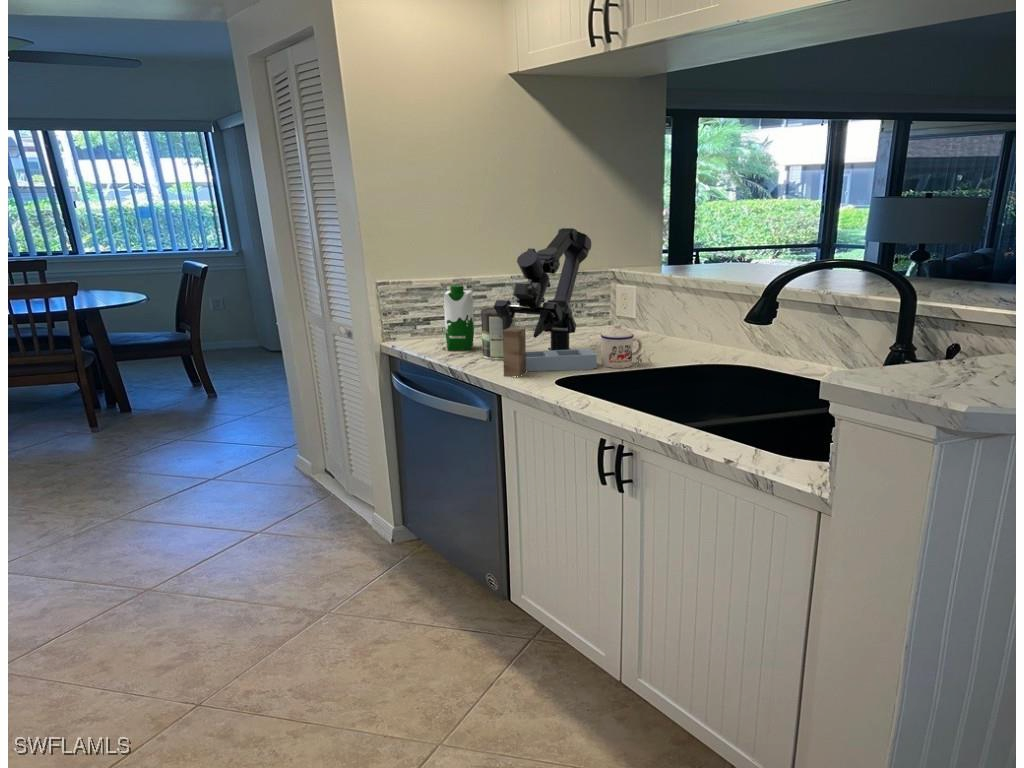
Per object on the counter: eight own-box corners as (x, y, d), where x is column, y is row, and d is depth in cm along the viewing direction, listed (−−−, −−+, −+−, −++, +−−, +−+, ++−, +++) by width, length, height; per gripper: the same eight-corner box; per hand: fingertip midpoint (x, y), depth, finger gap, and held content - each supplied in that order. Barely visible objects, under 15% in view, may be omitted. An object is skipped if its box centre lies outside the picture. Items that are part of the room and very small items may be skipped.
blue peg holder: (517, 372, 210) (517, 358, 209) (514, 365, 217) (514, 352, 216) (596, 368, 212) (596, 354, 211) (590, 362, 220) (590, 348, 219)
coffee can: (475, 358, 228) (473, 311, 225) (494, 351, 237) (492, 306, 233) (504, 361, 223) (503, 313, 220) (522, 354, 232) (521, 308, 228)
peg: (511, 372, 210) (510, 327, 207) (526, 373, 208) (525, 328, 205) (503, 376, 206) (502, 330, 203) (519, 377, 204) (518, 331, 201)
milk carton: (444, 351, 239) (441, 287, 234) (449, 345, 247) (446, 283, 242) (472, 351, 238) (469, 287, 233) (476, 345, 246) (474, 283, 241)
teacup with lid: (607, 370, 210) (608, 328, 207) (595, 362, 219) (596, 322, 216) (648, 366, 213) (649, 325, 210) (634, 359, 222) (635, 319, 219)
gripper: (495, 270, 212) (478, 316, 205) (558, 272, 204) (542, 320, 197) (508, 295, 221) (492, 340, 214) (569, 298, 213) (554, 344, 206)
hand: (519, 335), depth 207 cm, fingers open, 9 cm apart
